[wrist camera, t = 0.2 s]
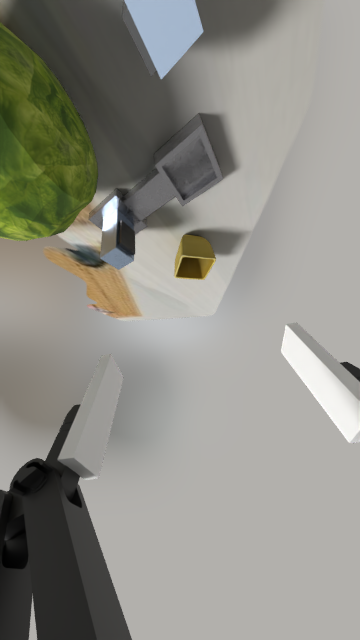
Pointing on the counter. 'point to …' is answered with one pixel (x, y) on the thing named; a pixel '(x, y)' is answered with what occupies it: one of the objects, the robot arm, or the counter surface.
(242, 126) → the counter surface
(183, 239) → the flower pot
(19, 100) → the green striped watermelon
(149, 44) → the blue block
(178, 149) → the grey piece
